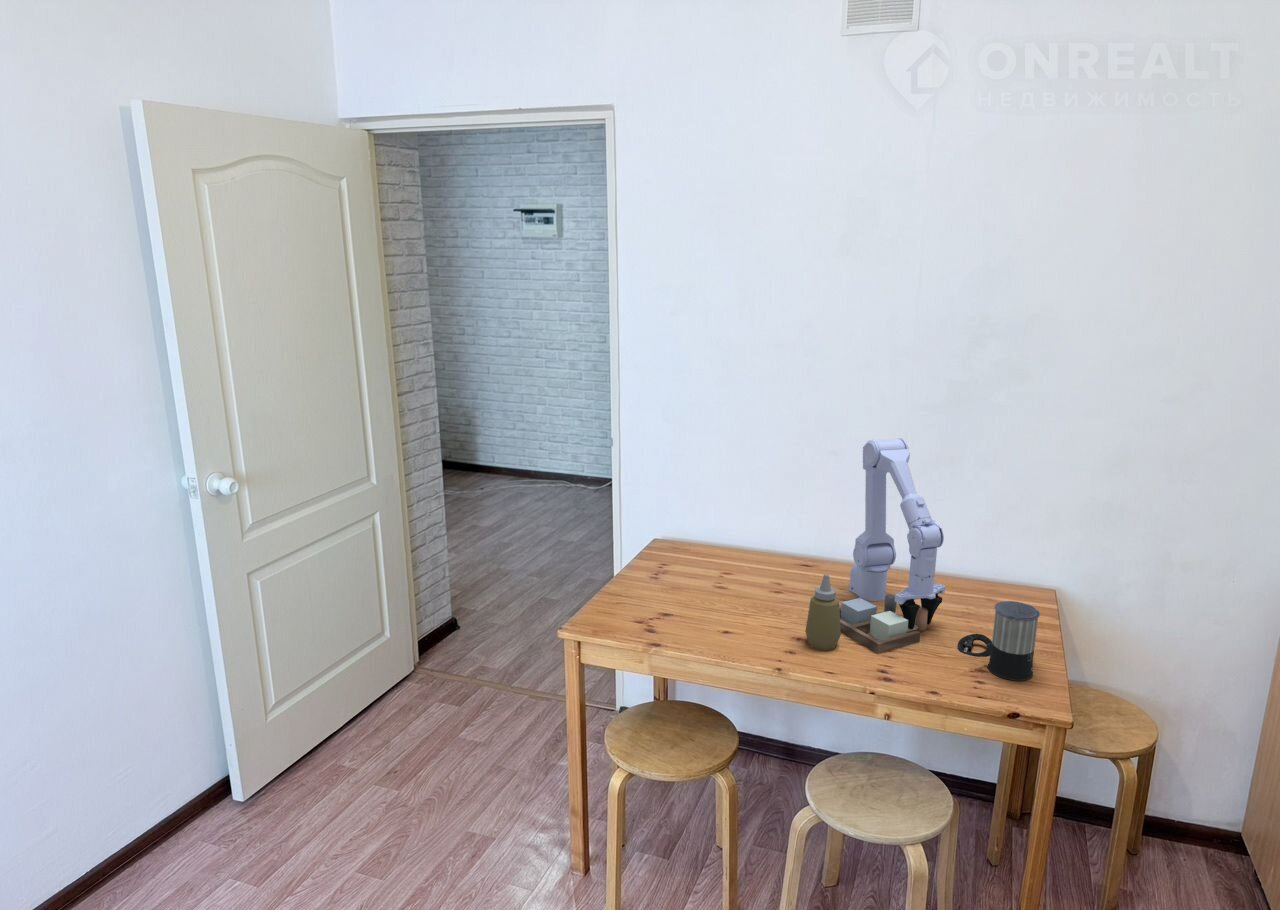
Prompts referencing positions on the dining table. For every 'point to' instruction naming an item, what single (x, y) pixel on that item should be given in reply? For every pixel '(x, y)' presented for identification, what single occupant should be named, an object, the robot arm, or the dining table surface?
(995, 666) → the milk frother
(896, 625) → the sage cube mallet
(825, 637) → the squeeze bottle
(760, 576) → the dining table surface
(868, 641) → the shelf
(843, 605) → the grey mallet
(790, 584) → the dining table surface
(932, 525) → the robot arm
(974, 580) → the dining table surface
